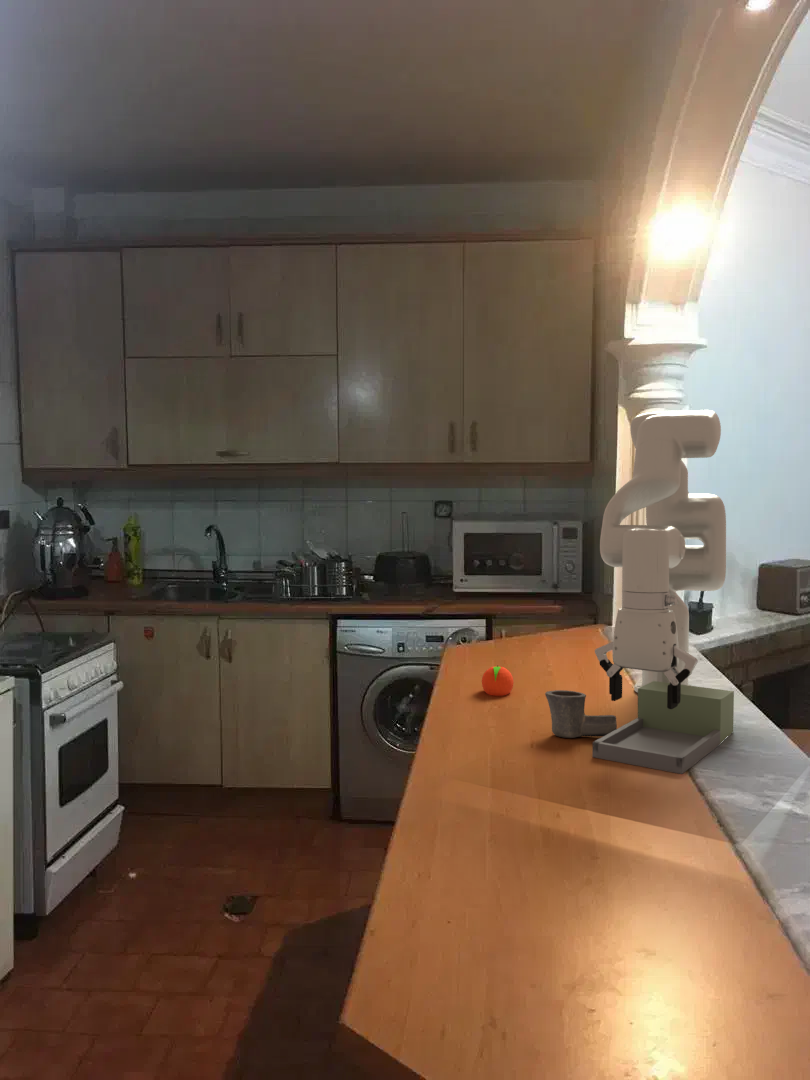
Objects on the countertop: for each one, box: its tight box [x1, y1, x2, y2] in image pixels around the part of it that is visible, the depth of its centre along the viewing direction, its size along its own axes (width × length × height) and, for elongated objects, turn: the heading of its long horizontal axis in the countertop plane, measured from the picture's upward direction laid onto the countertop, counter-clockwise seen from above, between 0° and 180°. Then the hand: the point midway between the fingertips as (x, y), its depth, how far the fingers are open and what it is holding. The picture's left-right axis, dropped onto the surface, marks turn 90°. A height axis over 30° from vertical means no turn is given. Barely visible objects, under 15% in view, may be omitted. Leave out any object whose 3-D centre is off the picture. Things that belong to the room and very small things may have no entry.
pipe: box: [544, 689, 618, 739], centre depth 154 cm, size 6×13×8 cm, turn 77°
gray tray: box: [591, 681, 735, 775], centre depth 148 cm, size 28×15×8 cm, turn 143°
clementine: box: [481, 665, 515, 697], centre depth 184 cm, size 8×7×7 cm
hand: (644, 703), depth 142 cm, fingers open, 9 cm apart
